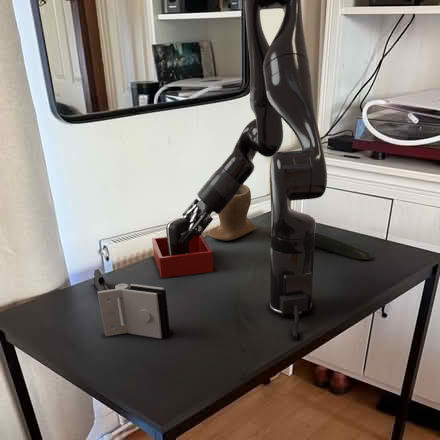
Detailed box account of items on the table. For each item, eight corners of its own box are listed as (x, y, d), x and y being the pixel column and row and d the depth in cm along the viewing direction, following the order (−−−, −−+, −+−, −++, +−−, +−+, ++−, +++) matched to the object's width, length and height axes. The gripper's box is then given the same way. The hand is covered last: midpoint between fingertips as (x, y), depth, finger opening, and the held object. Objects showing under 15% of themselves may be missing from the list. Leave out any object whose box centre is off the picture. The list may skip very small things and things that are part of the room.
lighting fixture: (122, 313, 129) (119, 296, 126) (111, 315, 128) (108, 298, 125) (105, 283, 143) (102, 267, 141) (94, 285, 142) (92, 269, 140)
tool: (275, 244, 161) (275, 221, 158) (289, 237, 165) (289, 215, 161) (359, 266, 145) (361, 241, 142) (372, 259, 149) (375, 234, 145)
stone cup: (232, 247, 161) (231, 193, 152) (203, 238, 168) (200, 186, 159) (266, 233, 169) (267, 181, 161) (237, 225, 176) (236, 175, 168)
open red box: (213, 271, 146) (212, 251, 144) (161, 277, 144) (159, 258, 141) (201, 251, 159) (200, 232, 156) (153, 256, 157) (151, 238, 154)
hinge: (103, 336, 119) (96, 292, 114) (111, 325, 124) (104, 282, 118) (167, 339, 117) (162, 294, 112) (173, 327, 122) (168, 283, 116)
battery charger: (179, 268, 148) (175, 225, 142) (168, 265, 150) (164, 223, 144) (196, 259, 153) (193, 218, 146) (185, 257, 155) (182, 215, 148)
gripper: (203, 173, 147) (164, 222, 152) (214, 187, 136) (171, 239, 140) (223, 192, 151) (184, 239, 156) (236, 207, 139) (194, 257, 144)
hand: (178, 239), depth 148 cm, fingers open, 8 cm apart
